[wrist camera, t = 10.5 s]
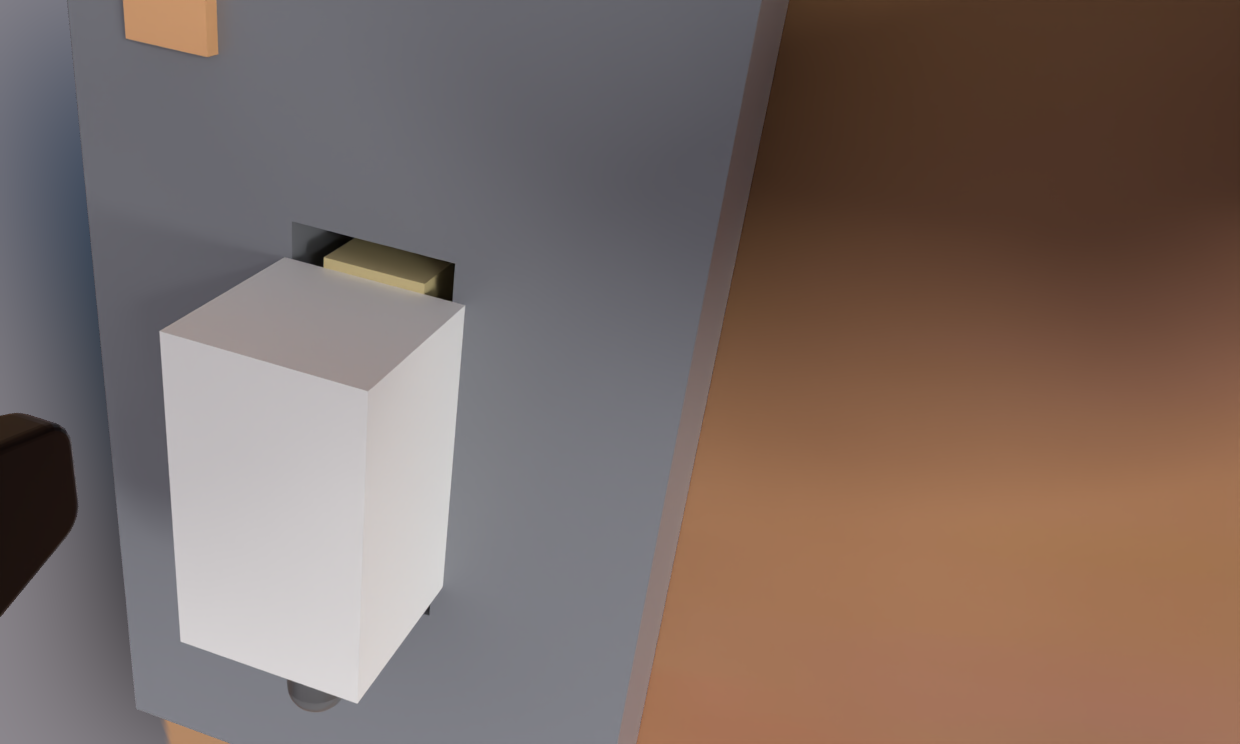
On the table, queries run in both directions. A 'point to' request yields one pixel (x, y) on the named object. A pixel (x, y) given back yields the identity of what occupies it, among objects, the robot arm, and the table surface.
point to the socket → (483, 281)
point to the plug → (314, 463)
